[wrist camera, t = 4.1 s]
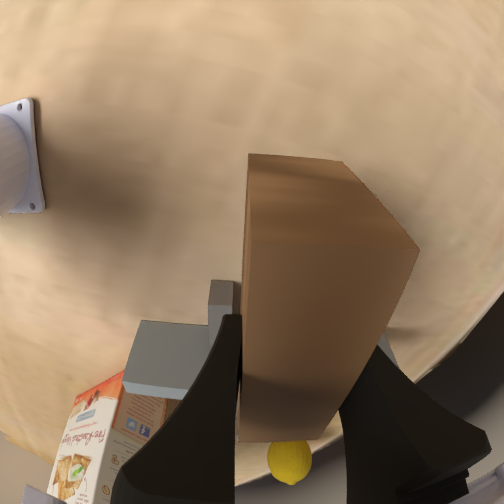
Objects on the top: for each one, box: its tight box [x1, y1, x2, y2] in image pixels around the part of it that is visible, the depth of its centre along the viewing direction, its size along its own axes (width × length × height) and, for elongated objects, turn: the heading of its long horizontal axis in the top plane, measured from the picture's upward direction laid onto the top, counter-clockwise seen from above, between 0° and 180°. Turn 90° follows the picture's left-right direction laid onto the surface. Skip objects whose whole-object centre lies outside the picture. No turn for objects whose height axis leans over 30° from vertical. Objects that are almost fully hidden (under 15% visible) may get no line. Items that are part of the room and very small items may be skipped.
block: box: [236, 154, 420, 442], centre depth 11 cm, size 4×10×6 cm, turn 177°
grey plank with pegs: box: [122, 280, 399, 400], centre depth 19 cm, size 20×6×6 cm, turn 86°
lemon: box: [267, 440, 312, 485], centre depth 30 cm, size 6×6×8 cm
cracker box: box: [47, 370, 168, 504], centre depth 20 cm, size 14×6×21 cm, turn 129°
